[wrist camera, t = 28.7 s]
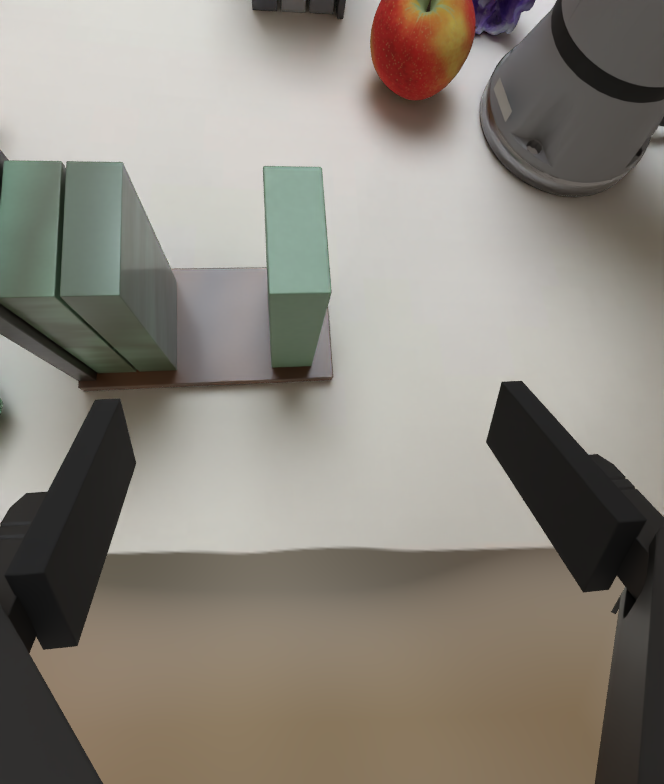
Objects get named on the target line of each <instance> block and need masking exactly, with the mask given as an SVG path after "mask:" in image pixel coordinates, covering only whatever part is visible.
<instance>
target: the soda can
mask: <svg viewBox="0 0 664 784" xmlns="http://www.w3.org/2000/svg"><path fill="white" fill-rule="evenodd" d="M2 408H3V402H2V400H1V399H0V415H1V412H2Z"/></svg>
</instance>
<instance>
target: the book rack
mask: <svg viewBox="0 0 664 784" xmlns="http://www.w3.org/2000/svg"><path fill="white" fill-rule="evenodd" d="M0 334H1V335H3V336H5V337H6V338H8V339H10V340H11V341H13V342H15V343H16V344H18V345H20V346H21V347H23V348H25V349H26V350H28V351H30V352H31V353H33V354H35V355H36V356H38V357H40V358H41V359H43V360H45V361H46V362H48V363H50V364H51V365H53V366H55V367H56V368H58V369H60V370H61V371H63V372H65V373H66V374H68V375H69V376H71V377H73V378H74V379H76V380H78V381H79V386H78V388H79V389H81V390H83V391H98V390H121V389H144V388H167V387H190V386H213V385H236V384H259V383H282V382H305V381H328V380H332V378H333V368H332V355H331V342H330V329H329V316H328V307H327V310H326V314H325V318H324V322H323V325H322V329H321V333H320V337H319V340H318V344H317V348H316V352H315V355H314V359H313V363H312V366H300V367H275V368H272V367H271V348H270V326H269V305H268V284H267V268H193V269H171V268H170V266H169V263H168V261H167V259H166V257H165V255H164V252H163V250H162V248H161V246H160V243H159V241H158V239H157V237H156V235H155V232H154V230H153V228H152V226H151V224H150V221H149V219H148V217H147V215H146V213H145V210H144V208H143V206H142V204H141V202H140V199H139V197H138V195H137V193H136V191H135V188H134V186H133V184H132V182H131V180H130V177H129V175H128V173H127V171H126V169H125V166H124V164H123V162H73V161H67V164H66V168H65V166H64V164H63V163H62V162H61V161H9V160H8V159H7V158H6V156H5V155H4V154H3V152H2V151H1V150H0Z"/></svg>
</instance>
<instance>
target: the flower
mask: <svg viewBox="0 0 664 784" xmlns="http://www.w3.org/2000/svg"><path fill="white" fill-rule="evenodd" d="M472 2H473V5H474V10H475V19H476V27H477V28H476V29H475V33H477V34H481V33H482V31H486V32H488V33H489V34H491V35H497V34H499V33H502V32H505V31H506V33H511V32H512V31H513V29H514V28H515V27H516V25H517V23H518V20H519V18H520V14H521V12H523V11H529V10H530V9H531V8H532V6H533V5H534V2H535V0H472Z"/></svg>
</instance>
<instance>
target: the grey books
mask: <svg viewBox="0 0 664 784" xmlns="http://www.w3.org/2000/svg"><path fill="white" fill-rule="evenodd" d="M345 1H346V0H309V10H310V13H326V14H333V10H334V2H335V3H336V14H337V19H343V16H344V8H345ZM252 7H253V10H268V11H277V0H252ZM305 8H306V0H281V11H288V12H305Z"/></svg>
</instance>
